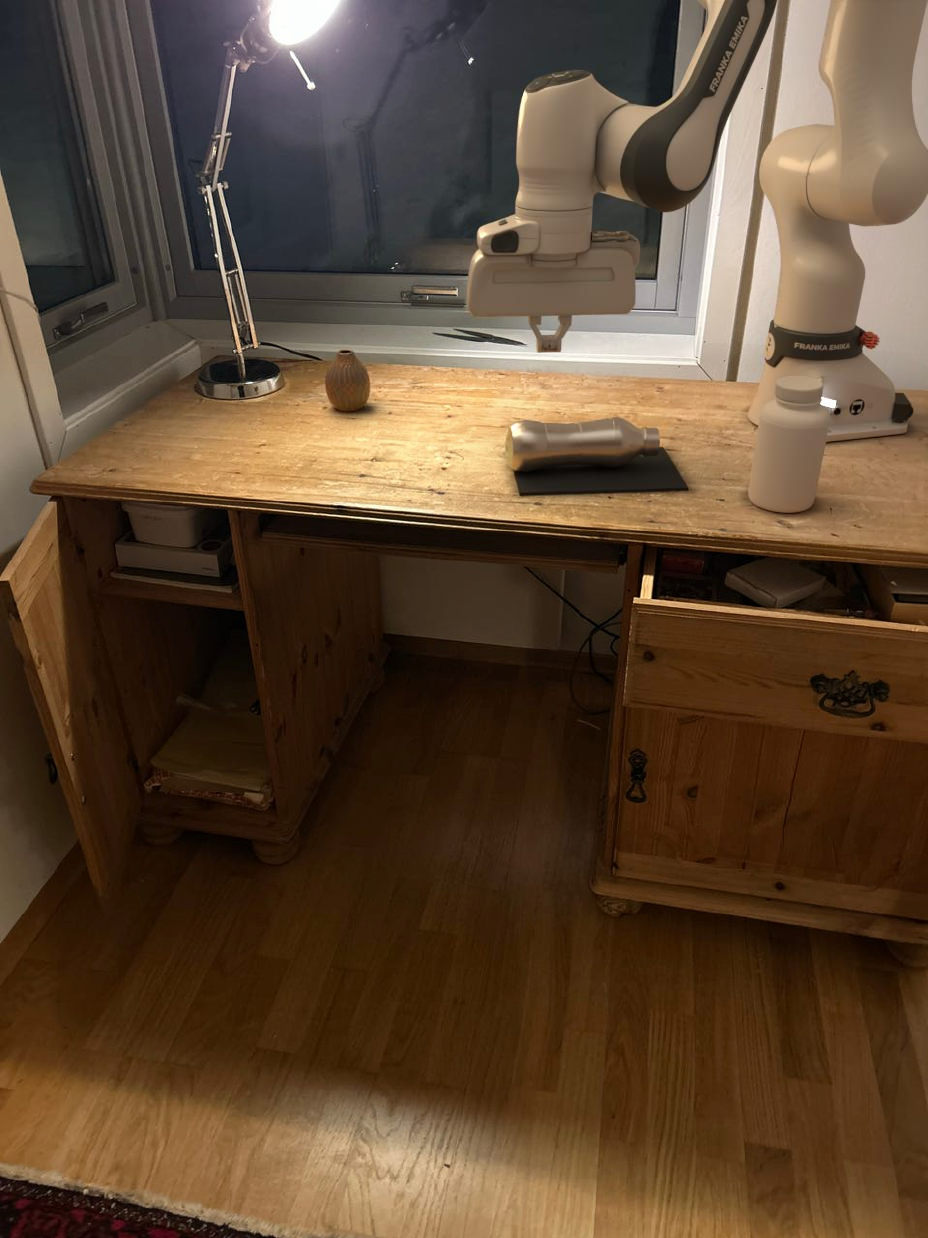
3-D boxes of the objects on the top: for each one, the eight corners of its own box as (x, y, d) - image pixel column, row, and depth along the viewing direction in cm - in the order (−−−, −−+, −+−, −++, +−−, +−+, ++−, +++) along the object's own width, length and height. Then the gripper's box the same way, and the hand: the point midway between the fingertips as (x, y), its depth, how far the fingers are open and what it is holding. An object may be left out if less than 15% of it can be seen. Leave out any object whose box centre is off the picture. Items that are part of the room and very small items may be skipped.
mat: (662, 449, 133) (663, 446, 133) (688, 490, 121) (688, 487, 121) (509, 453, 132) (509, 451, 132) (519, 495, 120) (519, 492, 120)
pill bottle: (734, 501, 118) (752, 382, 110) (768, 482, 123) (787, 367, 115) (792, 520, 114) (815, 397, 106) (825, 500, 118) (850, 381, 110)
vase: (320, 413, 147) (315, 356, 143) (336, 398, 153) (331, 343, 148) (363, 416, 146) (359, 359, 141) (377, 401, 151) (374, 346, 147)
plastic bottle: (509, 475, 122) (662, 470, 124) (508, 421, 120) (663, 416, 122) (502, 470, 128) (648, 465, 130) (502, 418, 127) (649, 414, 128)
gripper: (635, 225, 114) (626, 342, 121) (464, 229, 113) (465, 346, 120) (647, 235, 109) (637, 356, 116) (467, 238, 108) (468, 360, 115)
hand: (548, 351), depth 118 cm, fingers closed
